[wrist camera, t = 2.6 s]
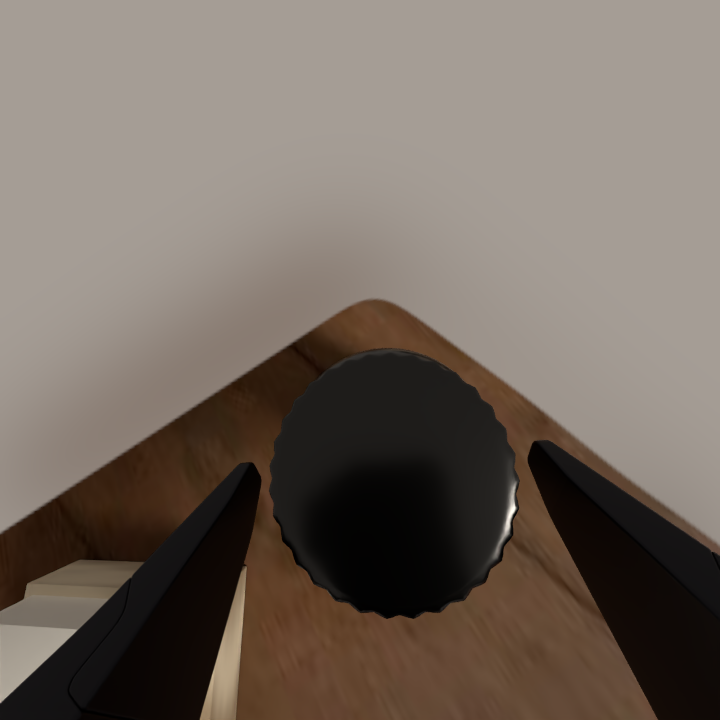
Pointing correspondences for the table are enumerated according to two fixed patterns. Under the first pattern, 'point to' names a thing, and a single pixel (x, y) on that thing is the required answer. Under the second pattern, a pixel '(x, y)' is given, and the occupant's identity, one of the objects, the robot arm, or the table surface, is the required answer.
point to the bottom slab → (110, 576)
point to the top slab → (37, 633)
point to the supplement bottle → (394, 483)
